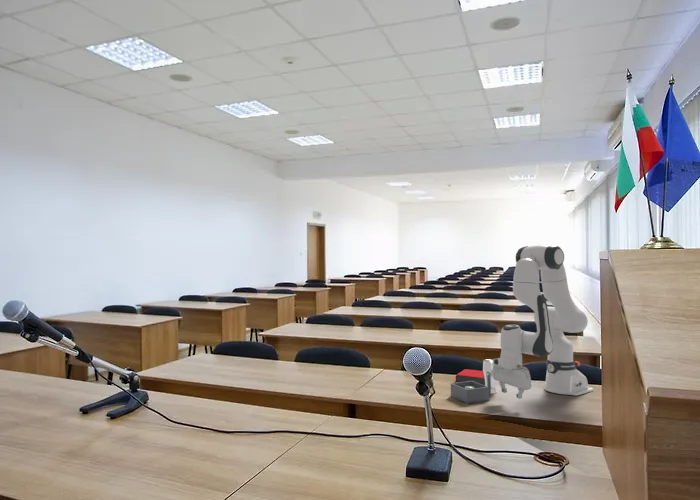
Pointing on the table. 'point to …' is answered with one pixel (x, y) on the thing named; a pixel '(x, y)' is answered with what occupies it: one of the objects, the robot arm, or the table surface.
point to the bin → (469, 392)
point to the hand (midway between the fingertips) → (511, 395)
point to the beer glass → (489, 375)
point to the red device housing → (470, 376)
